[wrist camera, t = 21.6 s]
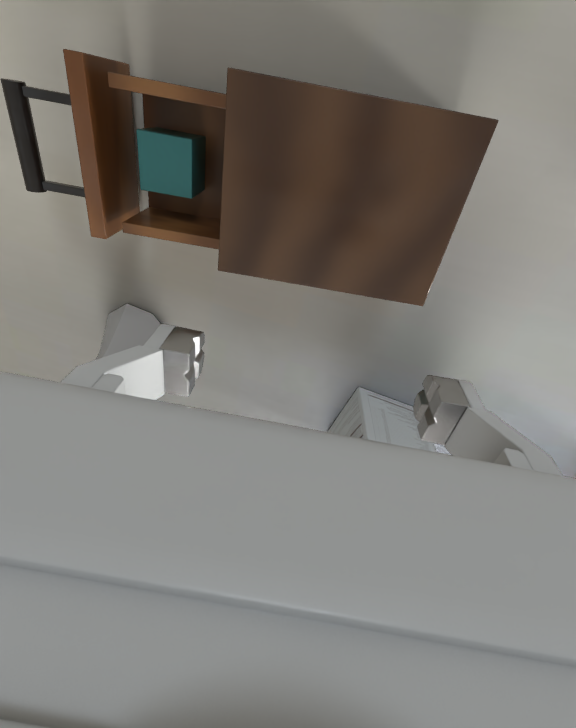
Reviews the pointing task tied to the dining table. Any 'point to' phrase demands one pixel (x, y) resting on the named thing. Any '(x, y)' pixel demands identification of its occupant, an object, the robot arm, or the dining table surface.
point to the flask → (127, 329)
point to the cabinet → (342, 186)
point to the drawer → (125, 148)
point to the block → (171, 161)
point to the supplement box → (379, 421)
